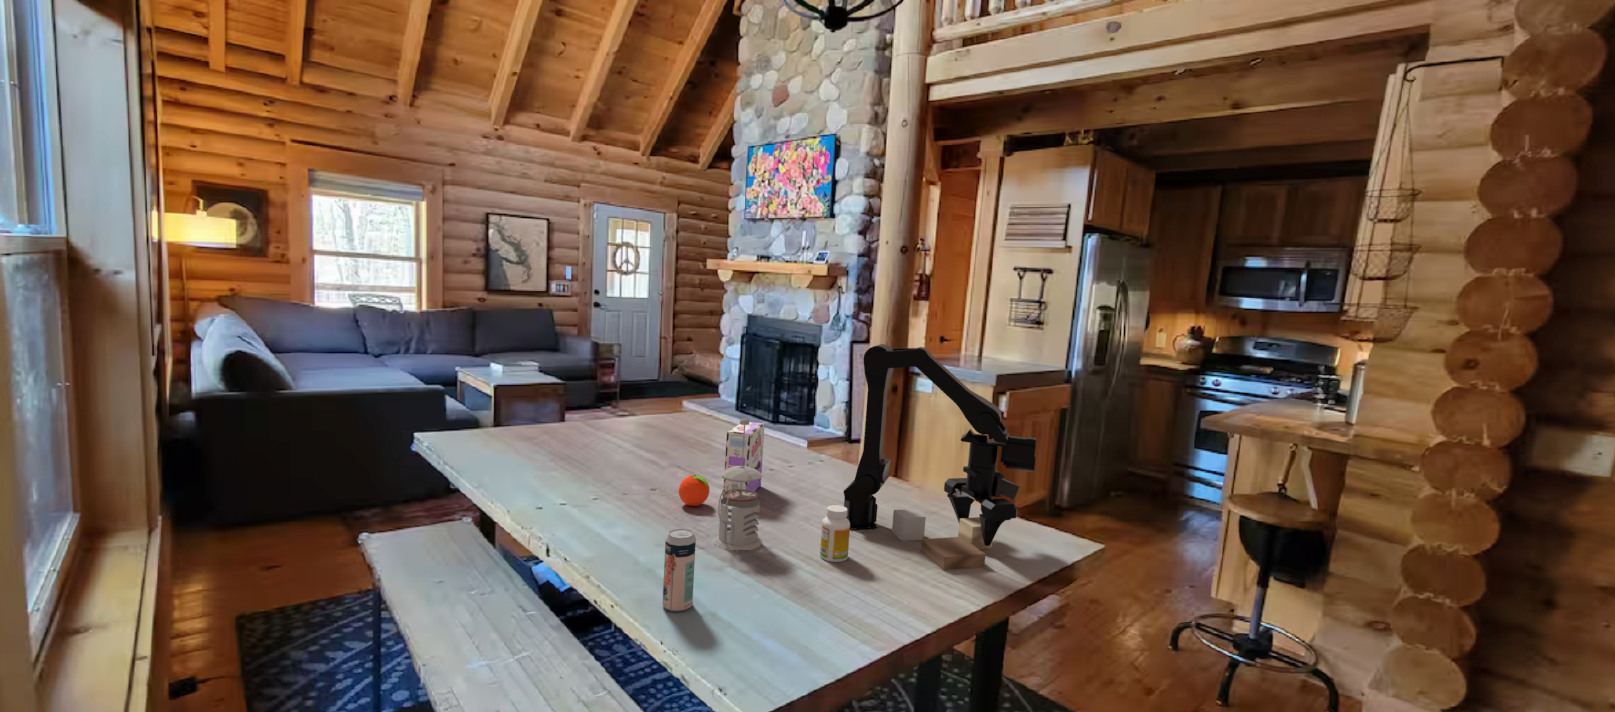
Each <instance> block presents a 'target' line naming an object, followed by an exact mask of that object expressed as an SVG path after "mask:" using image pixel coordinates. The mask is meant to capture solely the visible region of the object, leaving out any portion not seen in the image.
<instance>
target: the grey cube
mask: <svg viewBox="0 0 1615 712" xmlns="http://www.w3.org/2000/svg"><path fill="white" fill-rule="evenodd" d="M892 514H893V515H892V525H891V526H892V528H891V533H892V534H894V535H895V534H896V535H897V536H898V537H899V540H901V541H902V542H906V541H918V540H922V539H925V529H926V518H927V517H926V516H925V515H924V514H922V513H921V512H920V511H918V510H917V509H915V508H906V509H905V508H904V509H894V510H893V513H892ZM896 535H895V536H896ZM897 536H896V537H897ZM898 537H897V538H898Z"/></svg>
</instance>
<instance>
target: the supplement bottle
mask: <svg viewBox="0 0 1615 712" xmlns="http://www.w3.org/2000/svg"><path fill="white" fill-rule="evenodd" d="M847 511H848V510H847V508H846V507H844V505H840V504H839V505H838V504H836V505H835V504H834V505H828V506H827V507H826V516H825V517H823V519H822V521H821V522H822V523H821V531H820V532H821V533H820V534H821V535H820V548H819V549H820V550H819V556H820V557H821V558H822V560H825V561H827V562H830V561H831V562H830V563H841V562H845V561H847V559H848V557H849V546H850V544H849V543H850V532H851V531H850V530H851V529H850V522H849V520H848V519H847V518H846V517H847Z"/></svg>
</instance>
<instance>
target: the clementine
mask: <svg viewBox="0 0 1615 712" xmlns="http://www.w3.org/2000/svg"><path fill="white" fill-rule="evenodd" d="M678 495H679V498H680V501H682V502H683V503H684V504H685V505H687V506H692V507H696V506H697V507H698V506H700V505H701V504H704V503H705V502H706V500H708V498H709V495H710V485H709V482H708V481H707V480H706V478H704V477H702V476H701V475H700V474H698V475H697V474H692V475H688V476H686V477H685V478H683V480H682V481H681V482H680V484H679V487H678Z"/></svg>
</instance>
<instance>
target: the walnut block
mask: <svg viewBox="0 0 1615 712" xmlns="http://www.w3.org/2000/svg"><path fill="white" fill-rule="evenodd" d="M920 553H921V554H923V555H924V556H925V557H926V558H927V559H929V560H930V561H931V562H932V563H933V564H935V565H936V566H937V567H938V568H939V569H941V570H942V571H950V570H952V571H954V570H964V569H975V568H985V562H986V553H985V552H984V551H982V550H981V549H978V548H976V547H975V546H973V545H972V544H971V543H969V542H968V541H966V540H965V539H963V538H962V537H958V536H953V537H951V536H950V537H936V538H924V539H922V540H921V542H920Z"/></svg>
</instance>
